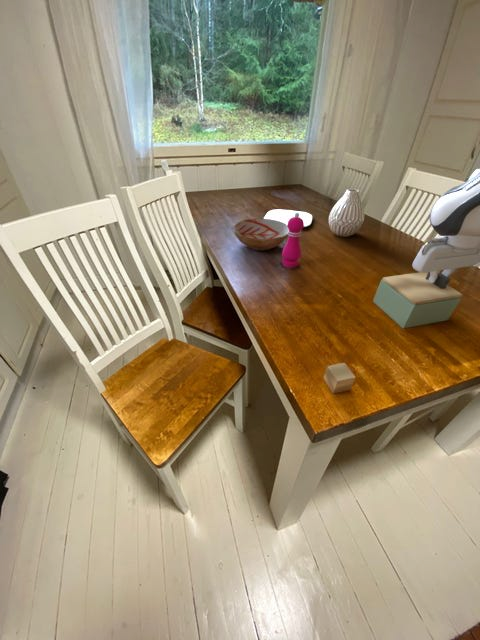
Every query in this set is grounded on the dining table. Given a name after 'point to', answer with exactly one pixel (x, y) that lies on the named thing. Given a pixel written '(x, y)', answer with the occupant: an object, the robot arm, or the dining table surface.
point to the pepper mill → (293, 242)
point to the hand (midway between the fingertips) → (436, 281)
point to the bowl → (261, 233)
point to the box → (412, 307)
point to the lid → (422, 287)
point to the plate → (288, 216)
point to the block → (339, 378)
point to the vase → (347, 214)
